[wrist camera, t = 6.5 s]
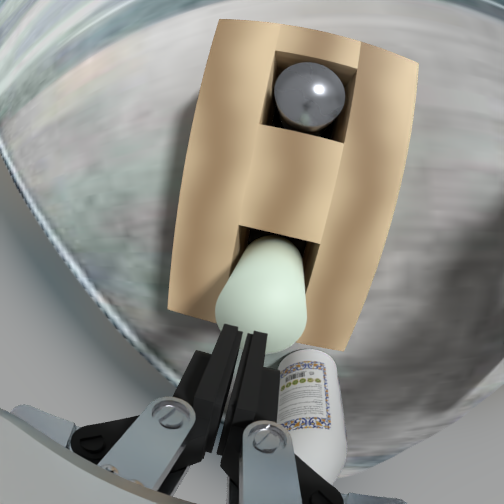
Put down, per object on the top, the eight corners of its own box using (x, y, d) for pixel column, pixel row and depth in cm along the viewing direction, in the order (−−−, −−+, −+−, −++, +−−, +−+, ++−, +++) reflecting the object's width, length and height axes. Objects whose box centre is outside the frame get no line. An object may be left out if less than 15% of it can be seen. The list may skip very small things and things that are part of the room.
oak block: (385, 89, 21) (418, 63, 13) (332, 304, 27) (343, 351, 20) (239, 57, 22) (219, 19, 14) (198, 272, 28) (167, 309, 21)
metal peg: (333, 98, 21) (349, 71, 14) (324, 144, 22) (338, 133, 15) (284, 87, 21) (281, 56, 14) (275, 132, 23) (268, 117, 16)
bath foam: (265, 368, 31) (234, 527, 12) (310, 336, 29) (313, 514, 10) (303, 397, 32) (297, 542, 13) (347, 369, 30) (370, 525, 11)
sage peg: (309, 243, 19) (318, 286, 12) (294, 298, 21) (292, 361, 14) (248, 229, 20) (222, 264, 13) (236, 285, 21) (209, 341, 14)
